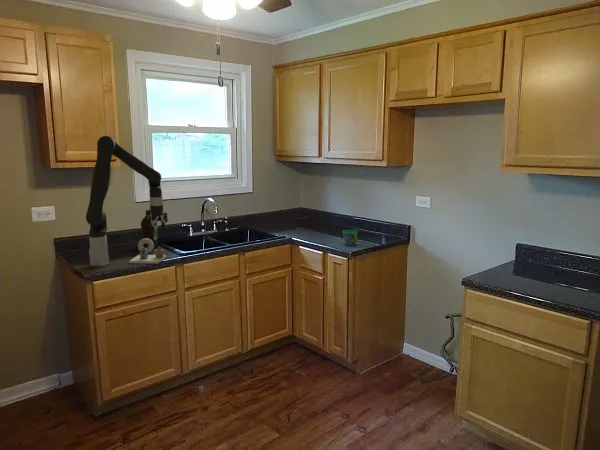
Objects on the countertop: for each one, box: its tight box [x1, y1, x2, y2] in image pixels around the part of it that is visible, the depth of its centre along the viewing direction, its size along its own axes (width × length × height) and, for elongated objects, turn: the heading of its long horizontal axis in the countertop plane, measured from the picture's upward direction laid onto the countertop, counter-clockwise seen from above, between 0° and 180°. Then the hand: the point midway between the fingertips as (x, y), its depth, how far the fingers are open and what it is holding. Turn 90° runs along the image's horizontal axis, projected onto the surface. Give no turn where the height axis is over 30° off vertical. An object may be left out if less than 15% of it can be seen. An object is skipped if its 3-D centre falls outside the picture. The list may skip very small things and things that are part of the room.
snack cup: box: [342, 229, 359, 247], centre depth 309 cm, size 16×10×10 cm
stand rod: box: [139, 246, 149, 259], centre depth 270 cm, size 4×4×6 cm
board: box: [129, 254, 167, 265], centre depth 272 cm, size 17×14×2 cm
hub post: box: [155, 246, 164, 258], centre depth 273 cm, size 4×4×6 cm
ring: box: [153, 248, 165, 255], centre depth 273 cm, size 6×6×2 cm
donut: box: [137, 238, 155, 254], centre depth 288 cm, size 10×4×10 cm, turn 113°
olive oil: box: [140, 209, 158, 248], centre depth 307 cm, size 11×11×25 cm
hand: (157, 230), depth 271 cm, fingers open, 8 cm apart
